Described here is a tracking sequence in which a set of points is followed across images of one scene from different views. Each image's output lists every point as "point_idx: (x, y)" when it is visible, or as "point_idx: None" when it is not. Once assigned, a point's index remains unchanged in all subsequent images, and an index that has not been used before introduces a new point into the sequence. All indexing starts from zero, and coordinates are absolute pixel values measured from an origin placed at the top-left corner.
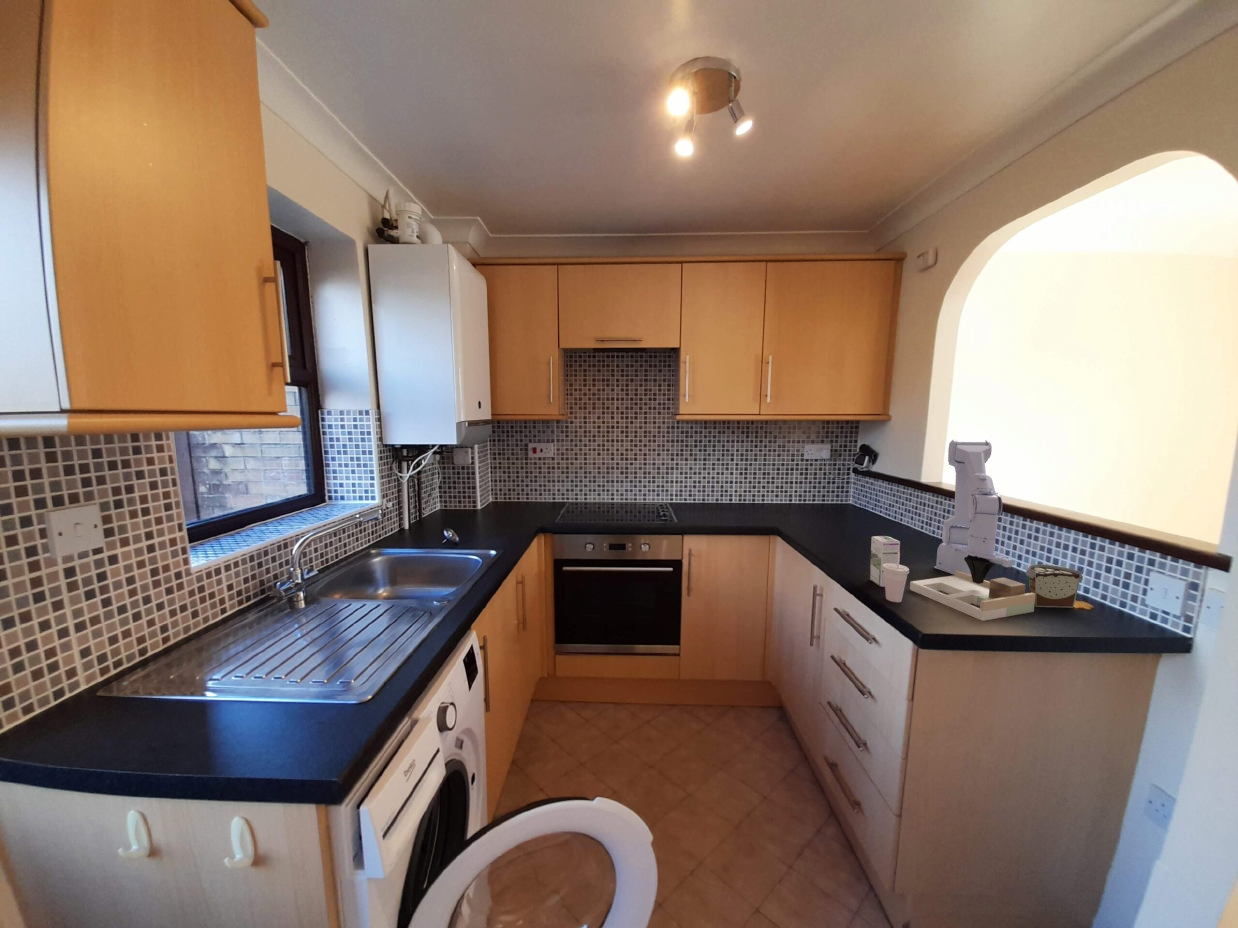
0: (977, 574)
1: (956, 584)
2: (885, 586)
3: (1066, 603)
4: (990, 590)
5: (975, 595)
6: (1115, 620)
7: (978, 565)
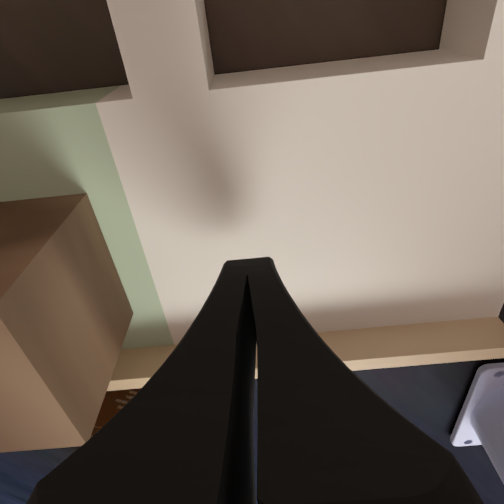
0: (206, 319)
1: (377, 172)
2: None
3: None
4: (50, 228)
5: (116, 103)
6: (3, 473)
7: (130, 447)
